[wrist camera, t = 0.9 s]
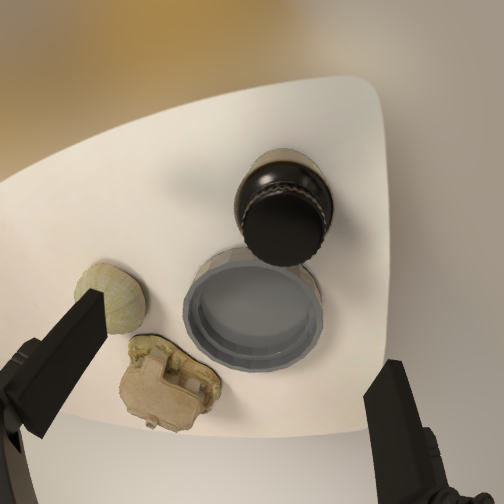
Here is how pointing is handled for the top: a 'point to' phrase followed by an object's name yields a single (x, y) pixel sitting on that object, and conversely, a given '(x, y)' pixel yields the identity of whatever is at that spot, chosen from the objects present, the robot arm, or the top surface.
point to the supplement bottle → (284, 208)
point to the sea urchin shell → (115, 297)
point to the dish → (253, 312)
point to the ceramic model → (166, 384)
